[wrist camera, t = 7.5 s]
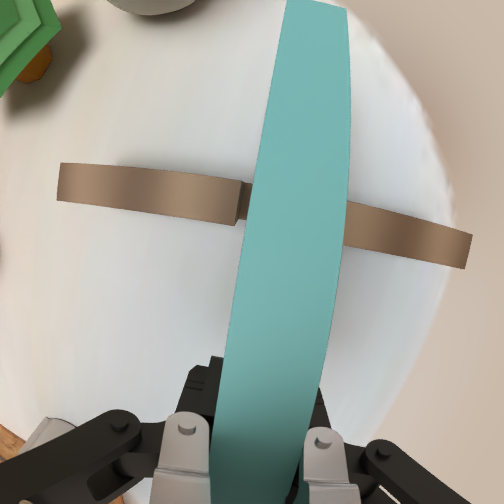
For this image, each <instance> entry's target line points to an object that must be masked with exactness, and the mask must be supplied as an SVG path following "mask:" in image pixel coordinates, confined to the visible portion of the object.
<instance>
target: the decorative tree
mask: <svg viewBox="0 0 504 504" xmlns="http://www.w3.org/2000/svg"><path fill="white" fill-rule="evenodd" d="M61 29H62V27H61V25H60V22H59V20H58V18H57V15H56V13H55V10H54V8H53V6H52V3H51V1H50V0H0V98H1V97H2V95H3V94H4V92H5V91H6V90H7V89H8V87H9V86H10V85H11V83H12V82H13V81H14V80H15V79H16V80H18V81H21V82H24V83H29V82H32V81H35V80H38V79H41V77H42V75H43V74H44V72H45V70H46V69H47V67H48V66H49V64H50V63H51V61H52V55H51V51H50V46H48V45H46V44H47V43H48V42H49V41H50V40H51V39H52V38H53V37H54V36H55V35H56V34H57V33H58V32H59V31H60V30H61Z"/></svg>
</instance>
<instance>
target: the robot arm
mask: <svg viewBox="0 0 504 504" xmlns="http://www.w3.org/2000/svg"><path fill="white" fill-rule="evenodd" d="M223 361H224V358H222V357H216V356H211V360H210V364H209V367H205V366H200V365H196V366H195V367H194V368H192V369H191V370H190V371H189V374H188V376H187V379H186V382H185V385H184V388H183V391H182V394H181V396H180V399H179V402H178V405H177V408H176V411H175V413H174V414H172V415H171V416H169V417H168V418H167V420H166V421H163V422H159V423H140V421H139V419H138V418H137V417H136V416H135V415H134V414H132V413H130V412H128V411H125V410H119V409H117V410H110V411H107V412H105V413H103V414H101V415H99V416H97V417H96V418H94V419H92V420H90V421H88V422H86V423H84V424H82V425H80V426H78V427H74V426H72V425H71V424H69V423H67V422H65V421H62V420H59V419H48V418H46V417H45V418H44V420H43V421H42V422H41V423H40V425H39V426H38V427H37V429H36V430H35V431H34V432H33V434H32V435H31V436H30V437H29V439H28V440H27V441H26V443H25V444H24V445H23V447H22V448H21V449H20V450H19V452H18V454H17V456H15V457H13V458H11V459H8V460H6V461H4V462H1V463H0V504H109V503H110V502H112V501H113V500H115V499H116V498H117V497H119V496H120V495H122V494H123V493H125V492H126V491H127V490H129V489H130V488H132V487H133V486H134V485H136V484H137V483H138V482H140V481H141V480H142V479H143V478H144V477H146V478H153V483H152V489H151V496H150V503H149V504H211V497H210V474H209V453H210V446H211V439H212V432H213V426H214V419H215V413H216V406H217V400H218V393H219V387H220V380H221V374H222V367H223ZM380 485H381V486H382V487H384V488H385V489H386V490H387V491H388V492H389V493H390V494H391V495H393V496H394V497H395V498H396V499H397V500H398V501H399V502H400V503H401V504H471V503H470V502H468V501H467V500H466V499H464V498H463V497H461V496H460V495H459V494H457V493H456V492H455V491H453V490H452V489H450V488H449V487H448V486H447V485H445V484H444V483H443V482H441V481H440V480H439V479H438V478H436V477H435V476H434V475H432V474H431V473H430V472H429V471H427V470H426V469H425V468H423V467H422V466H421V465H420V464H418V463H417V462H416V461H415V460H413V459H412V458H411V457H409V456H408V455H407V454H406V453H405V452H404V451H402V450H401V449H400V448H399V447H398V446H396V445H395V444H394V443H392V442H390V441H387V440H383V439H378V440H373V441H371V442H370V443H368V445H367V446H366V447H360V446H355V445H351V444H347V443H345V442H343V439H342V437H341V436H340V435H339V434H338V433H337V432H336V431H334V430H332V429H331V426H330V422H329V418H328V415H327V411H326V408H325V405H324V401H323V398H322V394H321V391H320V388H319V387H318V391H317V396H316V400H315V404H314V408H313V412H312V416H311V420H310V424H309V428H308V431H307V435H306V439H305V442H304V446H303V449H302V453H301V456H300V459H299V463H298V466H297V469H296V472H295V476H294V479H293V482H292V485H291V488H290V491H289V494H288V496H285V499H284V501H283V504H397V503H396V502H395V501H394V500H392V499H391V498H390V497H389V496H388V495H387V494H386V493H385V492H384V491H382V490H381V489H380V488H379V486H380Z"/></svg>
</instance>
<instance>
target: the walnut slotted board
mask: <svg viewBox="0 0 504 504" xmlns="http://www.w3.org/2000/svg"><path fill="white" fill-rule="evenodd" d="M252 187H253V184H251V183H245V182H243V181H240V180H233V179H227V178H220V177H213V176H206V175H198V174H190V173H182V172H174V171H165V170H156V169H146V168H136V167H124V166H112V165H97V164H81V163H61V164H60V171H59V180H58V190H57V200H58V201H66V202H73V203H81V204H89V205H96V206H104V207H111V208H118V209H125V210H132V211H139V212H146V213H153V214H160V215H167V216H173V217H180V218H186V219H193V220H199V221H206V222H212V223H218V224H224V225H231V226H235V224H236V222H237V221H238V219H243V220H247V216H248V210H249V204H250V198H251V193H252ZM472 236H473V235H472V234H469V233H466V232H463V231H459V230H456V229H453V228H450V227H446V226H443V225H439V224H436V223H432V222H429V221H425V220H422V219H418V218H414V217H411V216H407V215H403V214H399V213H396V212H392V211H388V210H384V209H380V208H376V207H371V206H367V205H363V204H359V203H354V202H350V201H347V204H346V216H345V226H344V236H343V245H345V246H350V247H356V248H361V249H366V250H372V251H377V252H382V253H387V254H392V255H397V256H402V257H407V258H412V259H417V260H422V261H427V262H432V263H436V264H441V265H446V266H451V267H456V268H460V269H465V266H466V262H467V258H468V254H469V249H470V245H471V241H472Z"/></svg>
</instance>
